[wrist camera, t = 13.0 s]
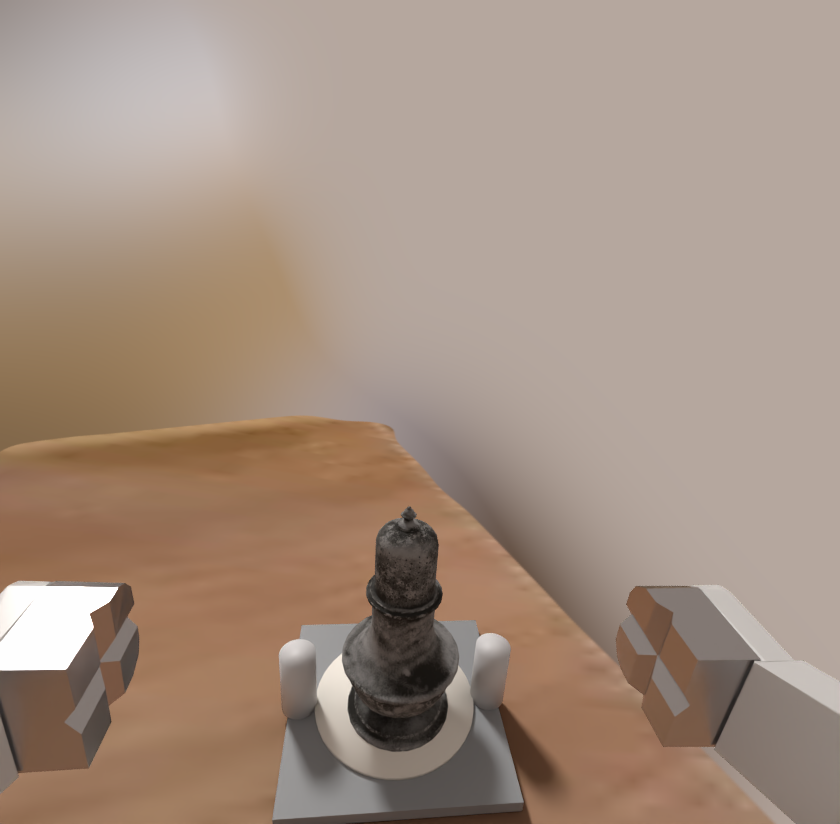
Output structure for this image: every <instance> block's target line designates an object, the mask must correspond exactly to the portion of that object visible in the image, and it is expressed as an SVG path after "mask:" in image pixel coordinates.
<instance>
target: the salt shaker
mask: <svg viewBox="0 0 840 824" xmlns="http://www.w3.org/2000/svg"><path fill="white" fill-rule="evenodd" d="M416 515H417V514H416V513H415V512H414V510H413V509H411V507H407V508H406V509H405V510H404V511H403V512H402V513H401V516H402V517H403V518H398V519H394V520H391V521H389V522H388V523H386V524H385V525H384V526H383V527H382V528H381V529H380V530H379V532H378V535H377V538H376V556H375V575H374V576H373V577H372V578H371V579H370V580H369V582H368V585H367V587H366V596H367V598H368V601H369V603H370V604H371V605H372V616H369V617H367V618H365V619H364V620H363V621H361V622H360V623H359V624H357V625H356V626H355V627H354V628H353V629H352V631H351V632H350V633H349V634H348V636H347V638H346V640H345V643H344V645H343V650H342V664H343V667H344V671H345V674H346V676H347V677H348V679H349V680H350V682H351V685H352V688H351V690H350V693H349V696H348V709H347V710H348V714H349V719H350V722H351V724H352V726H353V727H354V729H355V731H356V733H357V734H358V735H359V736H360V737H362V738H363V739H364V740H365V741H366V742H367V743H369V744H371V745H373V746H375V747H377V748H379V749H383V750H387V751H391V752H401V751H410V750H413V749H416V748H420V747H422V746H423V745H425V744H427V743H428V742H430V741H431V740H433V739H434V737H435V736H436V735H437V734H438V733H439V732H440V731H441V729H442V727H443V725H444V723H445V721H446V717H447V711H448V701H447V694H446V692H445V690H446V688H447V687H448V686H449V685H450V684H451V683H452V681H453V679H454V677H455V675H456V673H457V670H458V663H459V652H458V647H457V644H456V642H455V640H454V638H453V636H452V634H451V633H450V632H449V631H448V630H447V629H446V628H445V626H444V625H443V624H441V623H440V622H438V621H437V620H435V619H434V612H435V610H436V609H437V608H438V606H439V604H440V603H441V600H442V595H443V593H442V588H441V586H440V584H439V582H438V581H437V580H436V570H437V558H438V546H439V544H438V539H437V535H436V533H435V532H434V530H433V529H432V528H431V527H430V526H429V525H428V524H427V523H425V522H423V521H421V520H418V519H414V518H415V517H416Z"/></svg>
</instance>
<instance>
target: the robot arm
mask: <svg viewBox="0 0 840 824" xmlns="http://www.w3.org/2000/svg"><path fill="white" fill-rule="evenodd" d="M133 605H134V600H133V595H132V590H131V586H129V585H127V584H125V583H101V582H66V581H55V582H41V581H18V582H15V583H13V584H11V585H9V586H7V587H6V588H5V589H4V590H3V591H2V593H1V594H0V794H1V793H2V792H3V791H4V790H5V789H6V788H7V787H8V786H9V785H11V784H12V783H13V782H14V781H15V780H16V779H17V778H18V777H19V775H18V773H27V772H42V771H57V770H72V769H87V768H89V767H90V765H91V762H92V760H93V758H94V756H95V754H96V752H97V750H98V748H99V746H100V744H101V742H102V740H103V738H104V736H105V734H106V732H107V730H108V727H109V725H110V723H111V717H110V711H109V705H110V704H112V703H113V702H114V701H116V700H117V699H118V698H119V697H121V696H122V695H123V694H124V693H125V692H126V690H127V688H128V685H129V683H130V681H131V679H132V677H133V674H134V670H135V666H136V662H137V658H138V653H139V633H138V626H137V625H135V624H134V623H133V622H132V621H131V620H130V619H129V618H128V617H127V616H128V614H129V612H130V611H131V609H132V607H133ZM626 605H627V606H628V608H629V610H630V612H631V615H630V616H629V617H628V618H626V619H625V620H624V621H623V622H622V623H621V624H620V626H619V630H618V634H617V638H616V648H617V658H618V661H619V664H620V667H621V670H622V672H623V674H624V676H625V678H626V680H627V682H628V683H629V684H630V685H631V686H633V687H634V688H635V689H637V690H638V691H639V692H640V693H642V694H643V701H642V707H641V708H642V709H643V711H644V713H645V715H646V717H647V719H648V720H649V722H650V724H651V726H652V728H653V729H654V731H655V733H656V735H657V737H658V739H659V740H660V742H661V744H662V746H663V747H715V748H714V750H715V751H716V752H717V753H718V754H719V755H721V756H722V757H723V758H724V759H725V760H726V761H727V762H728V763H729V764H730V765H732V766H733V767H734V768H735V769H736V770H737V771H738V772H739V773H740V774H741V775H743V776H744V777H745V778H746V779H747V780H748V781H749V782H750V783H751V784H752V785H754V786H755V787H756V788H757V789H758V790H759V791H760V792H761V793H763V794H764V795H765V796H766V797H767V798H768V799H769V800H770V801H771V802H772V803H773V804H775V805H776V806H777V807H778V808H779V809H780V810H781V811H783V813H784V814H786V815H787V816H788V817H789V818H790V819H791V820H792V821H793V822H794V823H796V824H840V681H838V680H836V679H835V678H833V677H831V676H829V675H827V674H826V673H824V672H822V671H821V670H819V669H817V668H815V667H814V666H812V665H810V664H808V663H806V662H805V661H794V660H793V659H792V658H791V657H790V656H789V654H788V653H787V652H786V651H785V650H784V649H783V648H782V647H781V646H780V645H779V644H778V643H777V642H776V640H775V639H774V638H773V637H772V636H771V635H770V634H769V633H768V632H767V631H766V630H765V629H764V627H763V626H762V625H761V624H760V623H759V622H758V621H757V620H756V619H755V618H754V617H753V616H752V615H751V614H750V612H749V611H748V610H747V609H746V608H745V607H744V606H743V605H742V604H741V603H740V602H739V601H738V600H737V598H735V596H734V595H733V594H732V593H731V592H730V591H729V590H728V589H726V588H724V587H722V586H720V585H692V586H636V587H635V588H634V589H633V590H632V591H631V592H630V594H629V597H628V601H627V604H626Z"/></svg>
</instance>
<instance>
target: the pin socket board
mask: <svg viewBox="0 0 840 824" xmlns="http://www.w3.org/2000/svg"><path fill="white" fill-rule="evenodd" d="M438 622H440V623H441V624H443V625H444V626H445V628H446V629H447V630H448V631H449V632H450V633H451V634H452V636H453V638H454V640H455V642H456V644H457V647H458V652H459V663H458V670H457V673H456V675H455V677H454V679H453V681H452V683H451V684H450V685H449V686H448V687H447V688H446V690H445V692H446V694H447V701H448V711H447V717H446V721H445V723H444V725H443V727H442V729H441V731H440V732H439V733H438V734H437V735H436V736H435V737H434V739H433V740H431V741H430V742H428V743H427V744H425V745H423V746H422V747H420V748H416V749H413V750H410V751H401V752H391V751H387V750H383V749H379V748H377V747H375V746H373V745H371V744H369V743H367V742H366V741H365V740H364V739H363V738H362V737H360V736H359V735H358V734H357V733H356V731H355V729H354V727H353V726H352V724H351V722H350V719H349V714H348V710H347V709H348V696H349V693H350V690H351V688H352V685H351V682H350V680H349V679H348V677H347V676H346V674H345V671H344V667H343V664H342V650H343V645H344V643H345V640H346V638H347V636H348V634H349V633H350V632H351V631H352V629H353V628H354V627H355V626H356V625H357V624H329V625H302V627H301V634H300V639H297V640H293V641H290V642H288V643H287V644H285V645H284V646H283V647H282V648H281V650H280V653H279V666H280V683H281V701H282V711H283V713H284V714H285V716H287V717H288V720H287V726H286V733H285V739H284V746H283V753H282V759H281V766H280V772H279V779H278V786H277V792H276V799H275V805H274V812H273V819H272V822H273V824H347V823H361V822H375V821H389V820H403V819H417V818H431V817H445V816H459V815H473V814H487V813H501V812H514V811H522V808H523V803H524V802H523V798H522V794H521V790H520V786H519V783H518V779H517V775H516V771H515V768H514V764H513V760H512V756H511V753H510V749H509V745H508V741H507V738H506V734H505V730H504V726H503V723H502V719H501V715H500V711H499V706H500V705H501V704H502V701H503V695H504V689H505V682H506V676H507V670H508V663H509V657H510V651H511V648H510V645H509V643H508V641H507V640H506V639H505V638H503V637H502V636H500V635H498V634H494V633H487V634H483V635H481V636H479V632H478V628H477V625H476V621H475V620H469V621H438Z"/></svg>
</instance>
